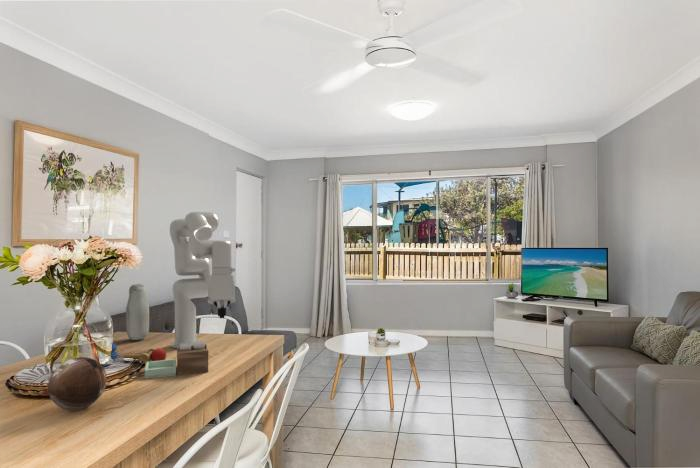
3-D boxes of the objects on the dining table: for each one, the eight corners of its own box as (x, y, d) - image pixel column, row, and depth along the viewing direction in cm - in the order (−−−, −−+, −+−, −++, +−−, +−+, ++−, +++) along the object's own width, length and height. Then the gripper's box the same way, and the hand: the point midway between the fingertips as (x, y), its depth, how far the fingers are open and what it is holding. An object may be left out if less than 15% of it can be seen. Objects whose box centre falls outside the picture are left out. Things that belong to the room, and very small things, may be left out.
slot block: (177, 366, 176) (177, 346, 176) (206, 363, 180) (206, 343, 180) (177, 375, 165) (177, 353, 165) (208, 371, 169) (208, 350, 169)
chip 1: (179, 353, 173) (179, 343, 173) (190, 352, 174) (190, 342, 174) (180, 356, 169) (180, 345, 169) (191, 355, 171) (191, 344, 171)
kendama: (118, 368, 179) (159, 363, 176) (118, 352, 180) (159, 347, 178) (131, 366, 186) (170, 361, 184) (130, 350, 188) (170, 346, 185)
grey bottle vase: (137, 337, 229) (137, 282, 229) (153, 338, 225) (153, 283, 226) (121, 341, 219) (121, 284, 220) (137, 342, 216) (137, 285, 216)
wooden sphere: (34, 415, 128) (35, 363, 128) (79, 397, 142) (79, 350, 143) (76, 420, 124) (76, 366, 124) (117, 401, 138) (117, 353, 139)
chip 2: (193, 352, 175) (193, 342, 175) (204, 351, 176) (204, 341, 176) (193, 354, 171) (193, 344, 171) (204, 353, 172) (204, 343, 172)
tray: (146, 369, 172) (146, 361, 172) (175, 366, 176) (175, 359, 176) (144, 378, 161) (144, 370, 161) (176, 375, 165) (176, 367, 165)
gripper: (239, 270, 183) (239, 315, 183) (201, 271, 178) (201, 317, 177) (242, 271, 176) (242, 317, 176) (202, 272, 171) (202, 320, 170)
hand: (221, 317), depth 177 cm, fingers closed
